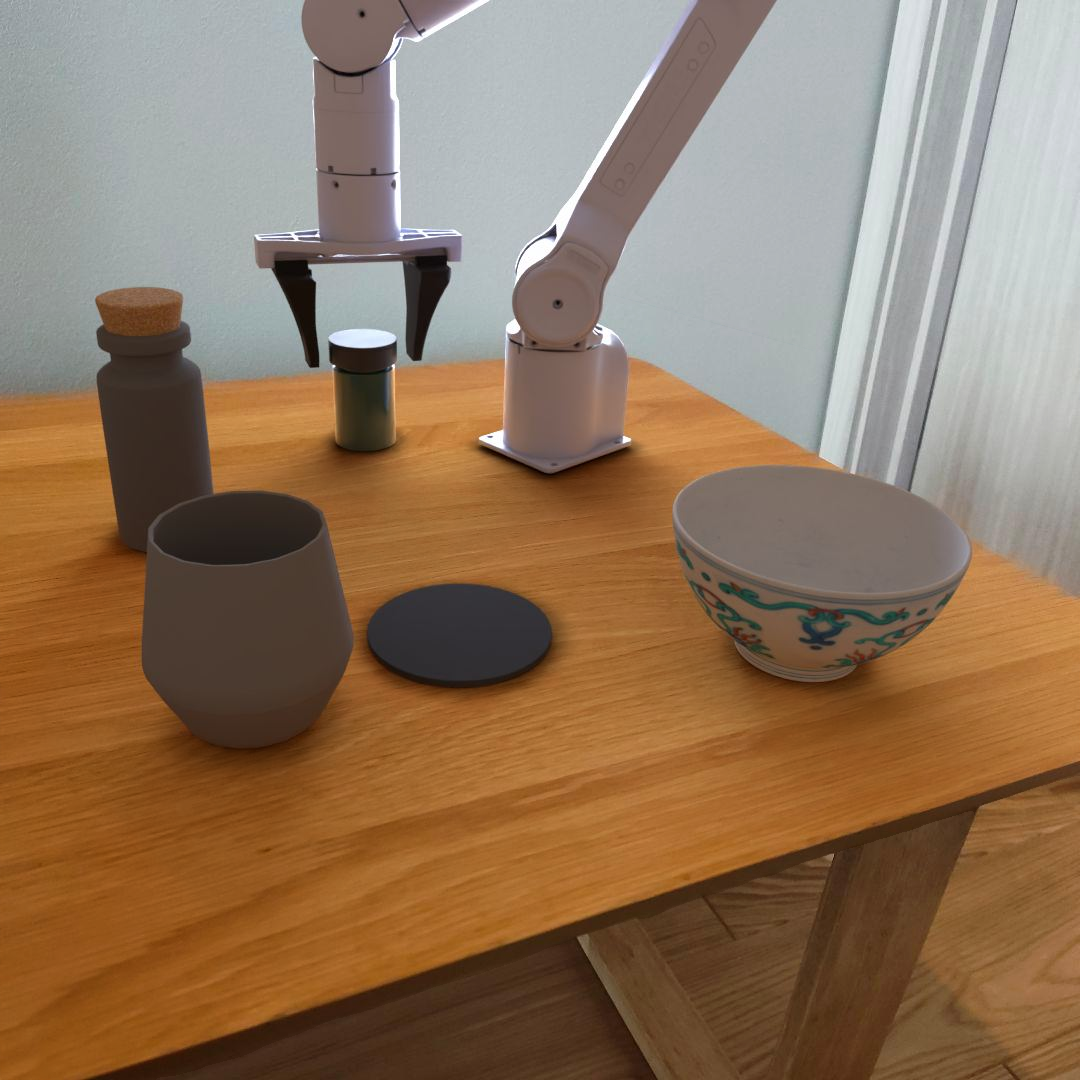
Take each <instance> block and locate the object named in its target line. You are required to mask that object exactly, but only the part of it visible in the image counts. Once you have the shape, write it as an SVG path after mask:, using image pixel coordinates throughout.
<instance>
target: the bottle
mask: <svg viewBox="0 0 1080 1080" xmlns="http://www.w3.org/2000/svg"><path fill="white" fill-rule="evenodd" d="M94 299H95V300H94V302H95V305H96V307H97V310H98V311H97V312H98V313H99V317H100V319H101V322H102V324H101V325H100V326H98V328H96V331H95V332H96V341H97V346H98V348H99V349H100V350H101V351H104V352H105V353H107V354H109V357H110V361H108V362H107V363H105V364H103V365H102V367H101V368H100V369H99V370H98V372H97V373H96V386H97V387H96V388H97V394H98V402H99V409H100V417H101V424H102V430H103V437H104V438H103V439H104V444H105V449H106V450H105V451H106V456H107V463H108V471H109V477H110V483H111V489H112V497H113V503H114V509H115V516H116V523H117V529H118V532H119V533H118V534H119V538H120V542H122V543H123V544H124V546H126V547H128V548H130V549H131V550H134V551H138V552H142V553H147V541H148V528H149V527H150V525H151V524H152V523H153V522H154V520H155V519H156V518H157V517H158V516H159V515H160V514H161V513H163V512H165V511H167V510H168V509H170V508H172V507H174V506H175V505H177V504H179V503H182V502H185V501H188V500H191V499H195V498H198V497H201V496H204V495H210V494H215V493H214V483H213V474H212V472H213V471H212V463H211V454H210V443H209V433H208V424H207V414H206V413H207V412H206V404H205V403H206V402H205V395H204V385H203V379H202V372H201V368H200V367H199V366H198V365H197V364H196V362H194V361H193V360H191V359H189V358H187V357H185V356H184V353H183V349H185V348H187V347H189V346H190V345H191V342H192V333H191V327H190V325H189V324H188V323H187V322H186V321H183V320H182V314H183V305H184V295H183V294H182V293H181V292H180V291H177V290H175V289H171V288H165V287H155V286H135V287H133V286H132V287H123V288H117V289H111V290H107V291H105V292H102V293H99V294H98V295H96V297H95V298H94Z"/></svg>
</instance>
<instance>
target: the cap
mask: <svg viewBox="0 0 1080 1080" xmlns="http://www.w3.org/2000/svg"><path fill="white" fill-rule="evenodd" d="M327 343H328V360H329V361H328V362H329V363H330V364H331V365H332V366H333V365H334V366H337V367H340V368H343V369H349V370H377V369H383V368H387V367H390V366H392V365H394V366H395V364H396V363H397V362H398V338H397V336H396V335H395V334H393V333H392V332H389V331H385V330H383V329H382V330H381V329H375V328H351V329H344V330H343V329H342V330H339V331H335V332H333V333H331V334H330V335H329V336H328V338H327Z"/></svg>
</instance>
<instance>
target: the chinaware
mask: <svg viewBox="0 0 1080 1080" xmlns="http://www.w3.org/2000/svg"><path fill="white" fill-rule="evenodd" d="M672 529H673V534H674V542H675V547H676V552H677V557H678V560H679V564H680V566H681V569H682V572H683V575H684V578H685V580H686V582H687V584H688V587H689V589H690V591H691V593H692V594H693V596H694V598H695V600H696V601H697V602H698V604H699V606H700V607H701V608H702V610H703V611H704V612H705V614H706V615H707V616H708V617H709V618H710V619H711V621H712V622H713V623H714V624H715V625H716V626H717V627H718V628H719V629H720V630H721V631H723V632H724V633H725V634H726V635H728V637H729V638H731V639H732V640H733V641H734V645H735V648H736V649H737V651H738V653H739V654H740V656H742V658H744V660H746V661H747V662H748V663H750V664H751V665H752V666H754V667H755V668H757V669H759V670H761V671H763V672H765V673H767V674H769V675H772V676H774V677H778V678H781V679H785V680H788V681H789V680H790V681H795V682H801V683H802V682H803V683H822V682H823V683H824V682H830V681H835V680H838V679H841V678H844V677H846V676H848V675H849V674H850V673H852V672H854V670H855V669H856V668H857V666H858V665H862V664H865V663H869V662H871V661H874V660H877V659H879V658H882V657H885V656H887V655H888V654H891V653H893V652H895V651H896V650H898V649H900V648H901V647H903V646H905V645H907V644H908V643H909V642H911V641H912V640H913V639H915V638H916V637H918V636H919V635H920V634H921V633H922V632H923V631H924V630H926V628H928V627H929V626H930V625H931V624H932V623H933V622H934V620H935V619H936V618H937V617H938V616H939V615H940V613H941V612H942V611H943V610H944V609H945V608H946V607H947V605H948V603H949V602H950V601H951V599H952V598H953V597H954V595H955V593H956V591H957V589H959V587H960V584H961V582H962V581H963V579H964V577H965V575H966V573H967V570H968V569H969V567H970V564H971V561H972V557H973V546H972V542H971V540H970V537H969V535H968V533H967V532H966V530H965V529H964V528H963V527H962V525H961V524H960V523H959V522H958V521H957V520H956V519H955V518H954V517H953V516H952V515H950V514H949V513H947V512H946V511H945V510H943V509H942V508H941V507H940V506H938V505H936V504H934V503H933V502H931V501H929V500H927V499H926V498H923V497H921V496H920V495H917V494H916V493H913V492H911V491H909V490H906V489H904V488H901V487H899V486H896V485H893V484H890V483H888V482H884V481H881V480H878V479H875V478H871V477H867V476H864V475H860V474H855V473H852V472H846V471H842V470H835V469H831V468H823V467H817V466H816V467H815V466H807V465H792V464H758V465H747V466H745V465H744V466H739V467H737V466H736V467H731V468H727V469H722V470H718V471H715V472H712V473H709V474H705V475H703V476H700V477H699V478H697V479H694V480H693V481H691V482H689V483H688V484H687V485H686V486H684V487H683V488H682V489H681V490H680V491H679V493H678V494H677V496H676V497H675V499H674V502H673V505H672Z"/></svg>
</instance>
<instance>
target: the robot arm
mask: <svg viewBox="0 0 1080 1080" xmlns="http://www.w3.org/2000/svg"><path fill="white" fill-rule="evenodd" d="M489 1H490V0H304V1H303V5H302V8H301V9H302V10H301V19H300V20H301V29H302V33H303V38H304V40H305V42H306V44H307V46H308V48H309V51H311V53H312V54H313V55H314V57H313V58H312V67H313V68H312V80H313V91H314V93H313V96H312V111H313V112H312V113H313V114H312V115H313V135H314V154H315V155H314V156H315V157H314V158H315V176H316V177H315V178H316V193H317V194H316V195H317V216H318V229H309V230H300V231H291V232H282V233H281V232H279V233H267V234H266V233H265V234H253V244H254V259H255V264H256V265H257V267H258V269H271V271H272V273H273V275H274V277H275V279H276V280H277V283H278V285H279V286H280V288H281V291H282V293H283V295H284V297H285V299H286V301H287V303H288V306H289V308H290V311H291V313H292V316H293V318H294V321H295V324H296V327H297V329H298V332H299V336H300V340H301V344H302V347H303V353H304V360H305V362H306V364H307V366H308V368H310V369H317V368H318V369H319V368H320V350H319V349H320V348H319V340H318V333H317V332H318V331H317V324H316V322H317V313H316V312H317V311H316V309H317V307H316V305H317V304H316V303H317V281H316V280H315V279H314V277H313V270H312V269H311V268H310V267H309V265H334V264H335V265H336V264H364V263H365V264H366V263H370V264H371V263H396V262H398V263H399V262H401V263H402V269H403V276H404V277H403V281H404V290H405V303H406V304H405V306H406V307H405V308H406V310H405V311H406V313H405V314H406V315H405V339H404V340H405V352H406V353H405V354H406V355H407V356H408V357H409V358H410V360H411V362H421V361H422V360H423V354H424V348H425V344H426V339H427V335H428V333H429V328H430V325H431V323H432V319H433V317H434V314H435V311H436V309H437V307H438V305H439V303H440V301H441V298H442V297H443V295H444V293H445V291H446V289H447V288H448V287H449V284H450V282H451V278H452V268H451V267H450V266H449V265H448V263H462V262H463V235H462V234H461V233H459V232H458V231H456V230H455V229H422V228H420V229H418V228H401V170H400V169H401V167H400V166H401V165H400V160H401V159H400V103H399V99H398V97H397V85H396V83H397V80H396V59H394V57H395V56H396V55H397V54H398V52H399V50H400V49H401V46H402V43H403V41H404V39H406V40H411V41H413V42H420V41H422V40H423V39H424V38H427V37H428V36H430V35H432V34H433V33H435V32H437V31H438V30H441V29H442V28H443V27H445V26H447V25H449V24H450V23H453V22H454V21H456V20H458V19H459V18H461V17H462V16H465V15H467V14H468V13H469V12H472V11H473V10H475V9H477V8H478V7H480V6H482V5H483V4H485V3H487V2H489ZM777 1H778V0H689V1H688V3H687V5H686V7H685V9H684V10H683V11H682V14H681V15H680V17H679V19H678V20H677V21H676V23H675V25H674V27H673V29H672V30H671V32H670V33H669V35H668V36H667V38H666V40H665V42H664V43H663V45H662V46H661V49H660V50H659V52H658V54H657V55H656V57H655V59H653V62H652V64H651V65H650V67H649V69H648V70H647V72H646V73H645V75H644V77H643V78H642V80H641V82H640V83H639V85H638V87H637V88H636V90H635V92H634V94H633V95H632V97H631V99H630V100H629V102H628V104H627V106H626V107H625V109H624V110H623V112H622V114H621V116H620V117H619V119H618V121H616V124H615V125H614V128H613V129H612V131H611V132H610V134H609V135H608V138H607V139H606V141H605V142H604V144H603V146H602V147H601V149H600V151H599V152H598V153H597V155H596V158H595V159H594V160H593V162H592V164H591V165H590V167H589V169H588V171H587V172H586V174H585V176H584V178H583V179H582V181H581V182H580V184H579V186H578V188H577V189H576V191H575V192H574V194H573V195H572V196H571V197H570V198H569V199H568V201H567V202H566V203H565V205H564V206H563V207H562V208H561V210H560V211H559V213H558V215H557V216H556V218H555V219H554V221H553V223H552V224H551V225H550V226H549V227H548V229H547V230H545V231H544V232H543V233H541V234H539V235H538V236H535V237H534V238H533V239H532V240H530V241H529V242H528V243H527V244H526V245H525V246H524V247H523V248H522V250H521V251H520V254H519V255H518V258H517V260H516V263H515V268H514V280H515V284H514V287H513V291H512V295H511V307H512V313H513V316H514V319H513V320H512V321H510V322H509V323H508V324H506V326H505V352H504V378H503V379H504V382H503V383H504V385H503V412H502V413H503V415H502V430H498V431H495V432H492V433H489V434H485V435H482V436H480V437H478V444H479V445H481V446H483V447H485V448H487V449H490V450H492V451H495V452H497V453H499V454H501V455H504V456H506V457H508V458H510V459H512V460H515V461H517V462H519V463H522V464H524V465H526V466H529V467H532V468H533V469H536V470H538V471H540V472H542V473H544V474H554V473H555V474H556V473H557V472H561V471H563V470H566V469H569V468H571V467H575V466H577V465H580V464H584V463H586V462H589V461H592V460H595V459H597V458H599V457H602V456H604V455H608V454H610V453H614V452H616V451H619V450H623V449H625V448H627V447H630V446H631V445H632V439H631V437H627V436H625V426H626V425H625V424H626V412H627V401H628V390H629V379H630V360H629V356H628V355H629V354H628V352H627V350H626V347H625V344H624V343H623V341H622V340H621V338H620V337H619V335H617V334H616V333H615V332H614V331H613V330H611V329H609V328H607V327H605V326H603V325H601V324H599V322H600V320H601V317H602V313H603V310H604V299H605V292H606V288H607V286H608V283H609V282H610V280H611V278H612V276H613V275H614V273H615V271H616V270H617V269H618V266H619V264H620V261H621V258H622V256H623V253H624V250H625V248H626V245H627V242H628V239H629V237H630V235H631V232H632V231H633V230H634V229H635V227H636V225H637V223H638V222H639V220H640V218H641V217H642V215H643V214H644V212H645V211H646V209H647V207H648V206H649V205H650V202H651V201H652V199H653V198H654V197H655V195H656V193H657V191H658V190H659V189H660V186H661V185H662V184H663V183H664V181H665V179H666V177H667V176H668V174H669V173H670V171H671V169H672V168H673V166H674V165H675V163H676V161H677V160H678V158H679V156H680V155H681V153H682V152H683V150H684V149H685V147H686V146H687V144H688V142H689V141H690V139H691V137H692V136H693V134H694V133H695V131H696V130H697V128H698V126H699V125H700V123H701V122H702V120H703V118H704V117H705V115H706V114H707V112H708V110H709V109H710V108H711V106H712V104H713V103H714V102H715V99H716V98H717V97H718V95H719V93H720V92H721V90H722V88H723V87H724V85H725V84H726V82H727V80H728V79H729V77H730V75H732V72H733V71H734V69H735V67H736V66H737V64H738V63H739V62H740V59H742V56H743V55H744V54H745V52H746V50H747V49H748V48H749V46H750V44H751V42H753V41H752V40H753V39H754V38H755V36H756V34H757V33H758V31H759V30H760V28H761V27H762V24H764V22H765V20H766V19H767V17H768V15H769V13H770V12H771V10H772V9H773V8H774V6H775V5H776V2H777Z"/></svg>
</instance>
